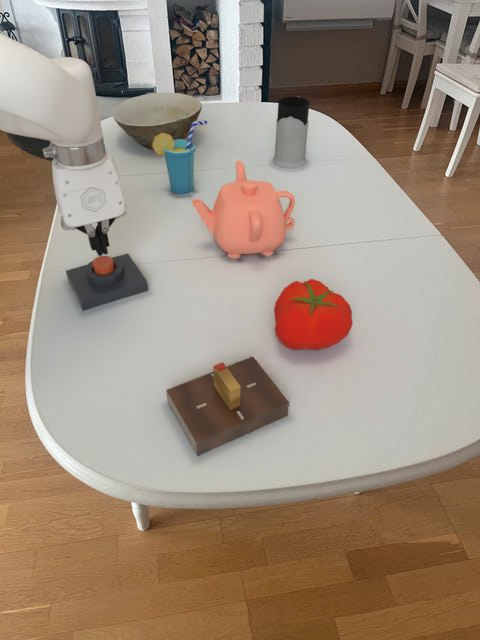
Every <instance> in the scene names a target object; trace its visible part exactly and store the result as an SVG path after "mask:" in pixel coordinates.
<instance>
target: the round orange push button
mask: <svg viewBox="0 0 480 640" xmlns="http://www.w3.org/2000/svg"><path fill="white" fill-rule="evenodd" d="M111 257H112V256H109V255H102V256H97V257H95V258H94V259H92V261H93V262H92V261H91V262H92V264H93V268H94V272H95V273H96V274H98V275H105V274H108V273H111V272H112V271H114V263H113V259H112V258H111Z"/></svg>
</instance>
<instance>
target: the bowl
mask: <svg viewBox="0 0 480 640" xmlns="http://www.w3.org/2000/svg"><path fill="white" fill-rule="evenodd" d="M202 108H203V105H202V103H201V101H200V100H199V99H197V98H196V97H194V96H192V95H188V94H184V93H180V92H154V93H145V94H141V95H137V96H134V97H131V98H128V99H124V100H123V101H121V102H120V103H119V104H117V105H116V106H115V108H114V109H113V111H112V118H113V119H114V121H115V122H116V124H117V125H118V126H119V128H121V129H122V130H123V131H124V133H126V134H127V135H128V136H130V137H131V138H132V140H135V141H136V142H138V144H139V145H142V146H143V147H145V148H148V149H151V150H154V149H153V147H152V143H153V140H154V137H156V136H158V135H159V134H161V133H165V134H169V135H171V136H172V138H173V140H177V139H184V140H186V138H187V137H188V136H189V132H190V128H191V125H192V123H193V122H194V121H198V118H199V116H200V114H201V112H202V110H203V109H202Z"/></svg>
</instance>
